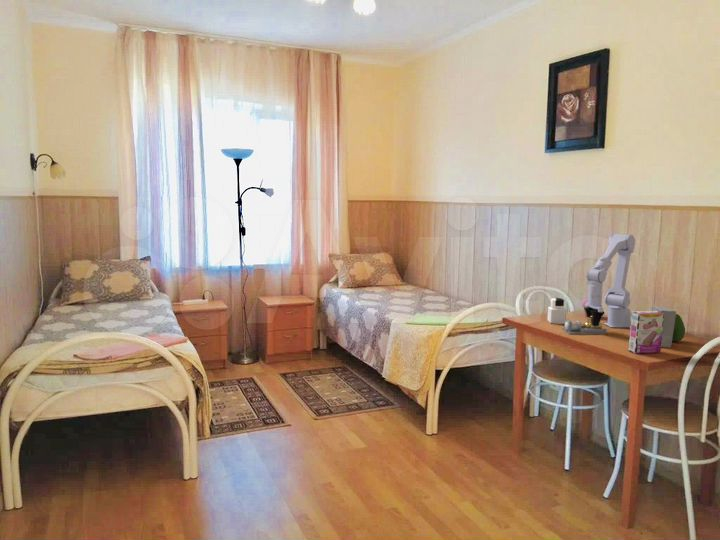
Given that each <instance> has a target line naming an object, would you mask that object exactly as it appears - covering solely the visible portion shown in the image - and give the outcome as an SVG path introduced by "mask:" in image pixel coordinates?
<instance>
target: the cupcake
mask: <svg viewBox="0 0 720 540" xmlns="http://www.w3.org/2000/svg"><path fill="white" fill-rule="evenodd" d="M586 302H588V297H587V298H584V299H583V300H582V302H581V306H582V307H583V312H584V315H585V317H586V318H587V314H586V311H585V309H584V308H587V307H586V306H585V304H586Z"/></svg>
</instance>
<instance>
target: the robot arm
mask: <svg viewBox="0 0 720 540" xmlns="http://www.w3.org/2000/svg"><path fill="white" fill-rule="evenodd" d="M635 245H636V239H635V236H634V235H633V234H619V233H612V234H610V236H609V238H608V245H607V248H606V251H605V253H604V254H603V256H601V257H599V258H598V260H597V261H596V262H595V265H594V266H593V268H591V269H589V270H588V271H587V273H586V274H587V275H586V280H587V284H588V291H587V292H588V294H587V296H588V297H587V298H588V302H586V304H585V306H586V307H587V308H584V307H583V310H584V309H585V311H586V314H587V317H590V316H591V315H592V318H593V326H599V323H601V319H602V317H603V316H604V315H605V311H604V309H605V308H604V307H603V306H602V299H603V285H604V282H605V281H606V279H607V274H608V270H609V269H610V268H611V266H612V263H613V262H612V259H613V258H614V257H615V255H616V254H618V257H617V261H616V262H617V263H616V268H615V274H614V280H613V286H612V287H611V288H608V289H607V292H606V295H605V296H604V297H605V298H604V303H605V306H607V308H608V313H607V322H604V323H603V324H604V325H605V326H607V327H610V328H624V329H625V328H629V329H630V325H631V314H632V311H631V310H630V308H628V307H629V306H630V303H631V293H630V292H629V291H628V289H626V283H627V282H626V281H627V277H628V272H629V265H630V259H631V255H632V253H634V250H635ZM587 317H586V318H587Z"/></svg>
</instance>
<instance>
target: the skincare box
mask: <svg viewBox="0 0 720 540" xmlns="http://www.w3.org/2000/svg"><path fill="white" fill-rule="evenodd" d="M650 311H658V312H662V313H664V320H663V330H662V340H661V348H671V347H672V342H673V341H672V338H673V331H674V324H675V318H676V314H677V311H676V310H674V309H673V308H670V307H668V306H659V305H658V306H656V305H652V306H651V310H650Z"/></svg>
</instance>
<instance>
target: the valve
mask: <svg viewBox="0 0 720 540" xmlns="http://www.w3.org/2000/svg"><path fill="white" fill-rule="evenodd" d="M586 319H587V320H586V322H584V324H583V325H584V328H585V329H603V325H602V323H601V322H600V323H599V326H593V318H592V315H591V316H590V317H586Z"/></svg>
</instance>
